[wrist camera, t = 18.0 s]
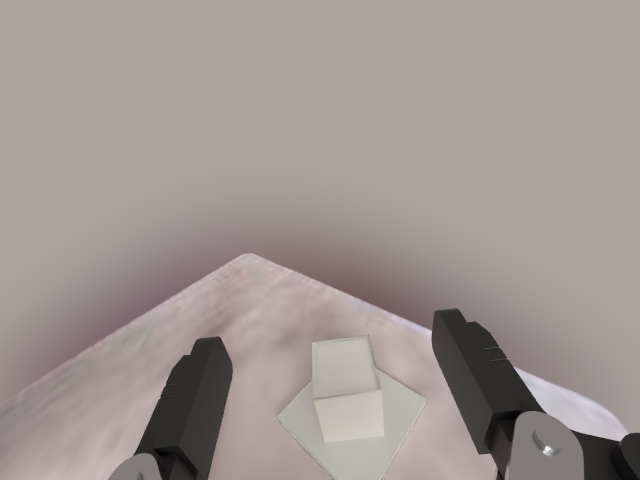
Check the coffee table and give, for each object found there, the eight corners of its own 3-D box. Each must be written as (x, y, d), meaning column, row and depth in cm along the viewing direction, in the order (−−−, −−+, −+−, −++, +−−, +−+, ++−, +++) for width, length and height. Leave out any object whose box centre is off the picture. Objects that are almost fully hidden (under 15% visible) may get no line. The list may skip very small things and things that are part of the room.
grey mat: (278, 421, 33) (276, 416, 33) (343, 351, 40) (342, 346, 40) (363, 510, 26) (362, 505, 25) (425, 404, 33) (425, 399, 32)
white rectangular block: (324, 442, 30) (312, 398, 26) (321, 386, 35) (311, 342, 31) (384, 435, 30) (381, 389, 26) (372, 380, 35) (368, 334, 31)
